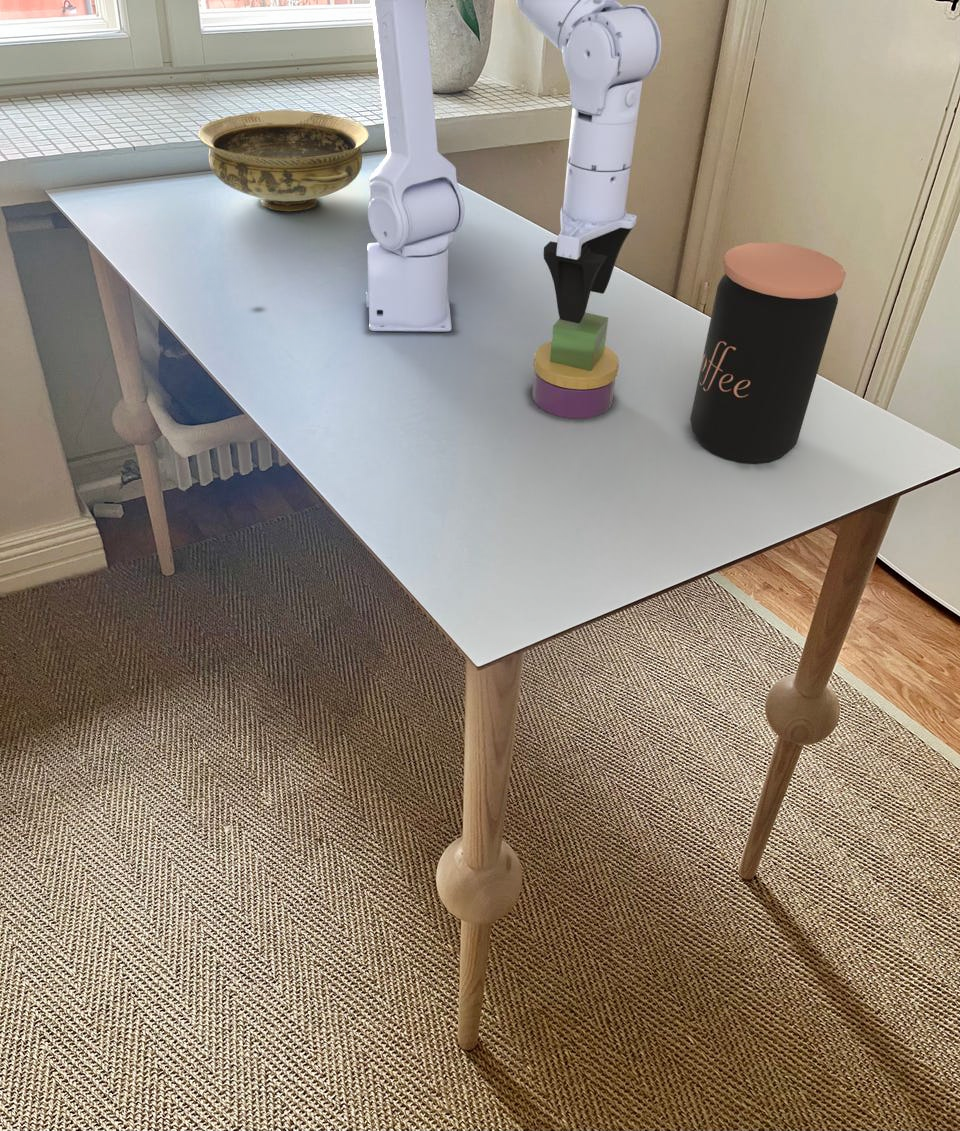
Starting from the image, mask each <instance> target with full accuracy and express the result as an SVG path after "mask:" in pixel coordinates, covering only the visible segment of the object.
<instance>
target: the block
mask: <svg viewBox="0 0 960 1131" xmlns="http://www.w3.org/2000/svg"><path fill="white" fill-rule="evenodd" d="M608 326H609V317H608V316H605V315H599V314H595V313H590V312H586V311H585V314H584V316H583V319H582V321H581V322H580V323H574V322H569V321H565V320H560V318H558V319H557V320H556V322H555V323H554V324H553V326H552V336H551V341H552V345H551V355H550V362H554V363H558V364H562V365H567V366H571V367H575V368H580V369H584V370H588V371H591V370H592V369H593V367H594V366H595V365H596V363H597V362H598V360H599V359H600V358H601V356H602V355H603V353H604V348H605V347H606V339H607V334H608Z"/></svg>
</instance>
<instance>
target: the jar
mask: <svg viewBox="0 0 960 1131" xmlns="http://www.w3.org/2000/svg"><path fill="white" fill-rule="evenodd" d="M532 383H533V384H532V394H531V396H532V397H531V398H532V400H533V403H534V404H535V405H536V406H537V407H538V408H539V409H541V410H542V411H544V412H546V413H548V414H550V415H553V416H556V417H561V418H566V419H575V420H577V419H589V418H594V417H599V416H600V415H603V414H604V413H606V412H607V411H609V410H610V408H611V407H612V404H613V398H614V392H615V385H616V378H615V379H614V380H613V381H612V382H611V383H609V384H607V385H605V386H602V387H599V388H594V389H569V388H564V387H559V386H556V385H553V384H551V383H549V382H547V381H545V380H543V379H542V378H541V377H539V376H538V375H537V373H536V372H535V371H534V370H533V382H532Z"/></svg>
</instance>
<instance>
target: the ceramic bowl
mask: <svg viewBox="0 0 960 1131" xmlns="http://www.w3.org/2000/svg"><path fill="white" fill-rule="evenodd" d="M197 134H198V139H199V140H200V141H201V142H202V144H204V145H205V146H206V147H207V148H209V149H208V163H209V166H210V169H211V171H212V173H213V174H214V175H215V176H216V178H217V179H218V180H220V181H221V182H222V183H223V184H225V185H226V186H228V187H230V188H232V189H233V190H235V191H238V192H240V193H243V194H246V195H247V196H252V197H255V198H258V199H261V200H260V201H261V205H262V206H264V207H265V208H268V209H271V210H276V211H280V212H282V211H283V212H296V211H297V212H298V211H304V210H308V209H310V208H313V207H315V206H316V205H317V203H318V201H317V199H318V198H322V197H325V196H328V195H331V194H334V193H337V192H338V191H340V190H343V189H344V188H346V187H347V186H349V185H350V184H351V183H352V182H353V181H354V180H356V178H357V177H358V176H359V174H360V172H361V170H362V166H363V154H362V149H361V148H362V147H363V146H364V145H365V144H366V143H367V141H368V139H369V137H370V133H369V131H368V129H367V128H366V127H365V126H364V125H362V124H361V123H358V122H357V121H355V120H351V119H349V118H345V117H341V116H339V115H338V116H337V115H333V114H325V113H320V112H312V111H306V110H291V109H279V110H264V111H255V112H249V113H242V114H235V115H230V116H225V117H221V118H218V119H215V120H212V121H210V122H208V123H206V124H204V125H202V127H200V129H199V130H198V133H197Z"/></svg>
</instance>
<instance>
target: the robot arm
mask: <svg viewBox="0 0 960 1131" xmlns="http://www.w3.org/2000/svg"><path fill="white" fill-rule="evenodd" d="M426 4H427V3H426V0H370V6H371V15H372V23H373V24H372V25H373V33H374V40H375V49H376V50H375V51H376V59H377V68H378V77H379V85H380V95H381V96H380V97H381V104H382V106H381V107H382V114H383V121H384V122H383V123H384V133H385V141H386V142H385V143H386V150H387V154H386V156H385V157H384V159H383V160H382V161H381V163H380V164H379V166H377V168H376V169H375V170H374V172H373V173H372V174H371V176H370V177H369V179H368V181H369V192H370V195H369V202H368V207H367V220H368V225H369V228H370V231H371V234H372V235H373V237H374V239H375V240H376V241H377V242H370V243H367V290H366V292H365V303H366V304H365V305H366V308H368V321H369V323H368V324H369V325H368V329H369V330H370V331H372V332H441V333H443V332H445V333H446V332H448V333H449V332H451V331H452V318H451V308H450V302H449V300H448V282H449V281H448V277H449V245H450V244H452V243H454V233H456V232H457V231H458V230H460V229H461V227H462V225H463V223H464V220H465V212H466V211H465V202H464V198H463V194H462V192H461V189H460V187H459V184H458V183H459V182H458V179H457V178H458V177H457V168H456V166H455V165H454V164H453V163H452V162H450V161H449V159H447V158H446V157H445V156H444V155H442V154H441V153H440V152H439V149H438V137H437V136H438V135H437V124H436V114H435V103H434V102H435V100H434V90H433V89H434V88H433V77H432V76H433V75H432V65H431V54H430V41H429V40H430V39H429V29H428V17H427V6H426ZM515 4H516V7H517V10H518V13H520V14H521V15H522V16H523V17H524V18H525V19H526V20H527V21H528V22H529V23H530V24H531V25H532V26H533V27H534V28H535V29H537V31H539V32H540V33H541V34H542V35H543V37H545V38H546V39H547V40H548V41H549V42H550V44H552V45H553V46H554V47H555V48H556V49H557V50H558V51H559V52H561V54H562V63H563V68H564V71H565V73H566V76H567V78H568V82H569V95H568V101H570V102H571V104H570V105H571V108H572V110H571V111H572V112H571V119H570V120H571V121H570V132H569V142H568V152H567V162H566V173H565V184H564V194H563V204H562V206H561V208H560V212H559V222H560V223H559V224H560V232H559V233H558V235H557V241H549V242H548V243H547V244H546V245H544V247H543V255H542V256H543V260H544V261H545V262H544V263H546V265H547V268H548V270H549V272H550V275H551V278H552V282H553V285H554V291H555V298H556V306H557V307H556V308H557V313H558V317H559V318H560V320H565V321H569V322H574V323H580V322H581V321H582V319H583V316H584V314H585V312H586V310H587V308H588V304H589V299H590V296H591V292H592V293H597V294H601V295H602V294H605V292H606V290H607V288H608V285H609V283H610V280H611V278H612V274H613V271H614V268H615V265H616V262H617V259H618V256H619V254H620V252H621V249H622V248H623V246H624V243H625V242H626V240H627V238H628V236H629V234H630V233H631V231H632V230H633V228H634V227H635V226H636V225H637V221H638V220H637V219H638V216H637V215H636V214H632V213H627V210H626V206H627V198H628V190H629V184H630V175H631V168H632V164H633V163H632V161H633V155H634V147H635V140H636V133H637V127H638V126H637V125H638V118H639V110H640V103H641V98H642V97H641V96H642V89H643V80H645V79H647V78H648V77H650V75H651V74H652V73H653V72H654V70H655V69H656V68H657V65H658V63H659V61H660V57H661V51H662V37H661V31H660V29H659V26H658V23H657V21H656V20H655V18H654V17H653V16H652V14H650V12H649V10H648V9H647V7H646V6H643V5H641V4H628V5H623V4H621V3H620V2H619V1H617V0H515ZM559 318H558V319H559Z"/></svg>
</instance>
